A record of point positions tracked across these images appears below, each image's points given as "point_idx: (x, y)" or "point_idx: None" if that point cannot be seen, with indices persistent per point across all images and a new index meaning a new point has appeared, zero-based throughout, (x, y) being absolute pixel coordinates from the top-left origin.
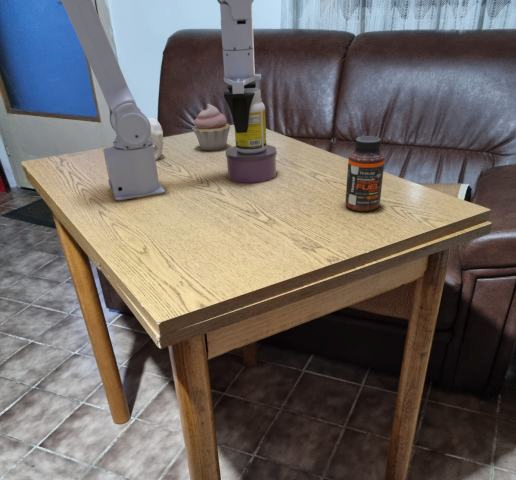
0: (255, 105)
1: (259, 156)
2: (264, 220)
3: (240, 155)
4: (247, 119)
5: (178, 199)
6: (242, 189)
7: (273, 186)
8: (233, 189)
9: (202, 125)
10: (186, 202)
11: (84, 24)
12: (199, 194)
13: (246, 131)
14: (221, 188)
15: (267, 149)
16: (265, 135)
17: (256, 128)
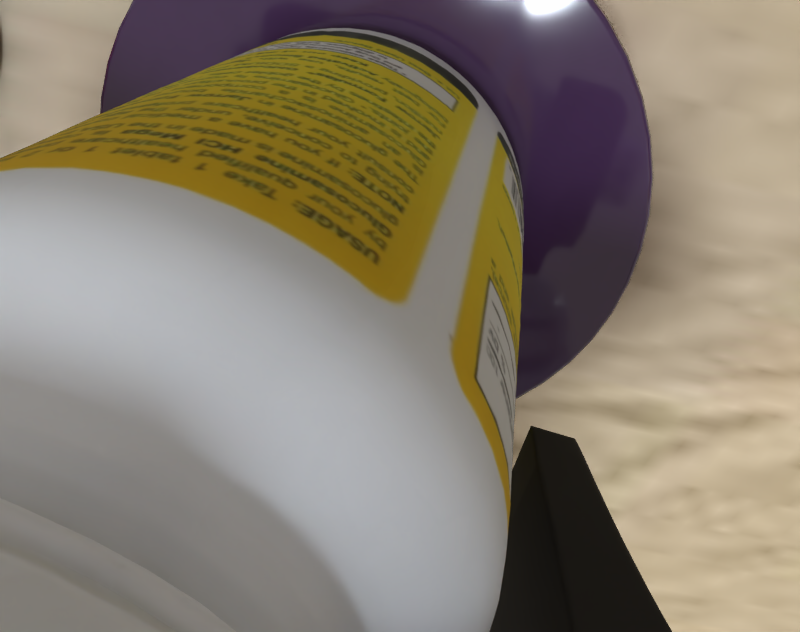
0: (402, 582)
1: (647, 184)
2: None
3: None
4: (640, 589)
5: (684, 612)
6: (716, 286)
7: (794, 28)
8: (679, 339)
9: None
10: (759, 597)
11: None
12: (661, 521)
13: (580, 453)
14: (615, 399)
15: (390, 15)
16: (408, 83)
17: (517, 306)
